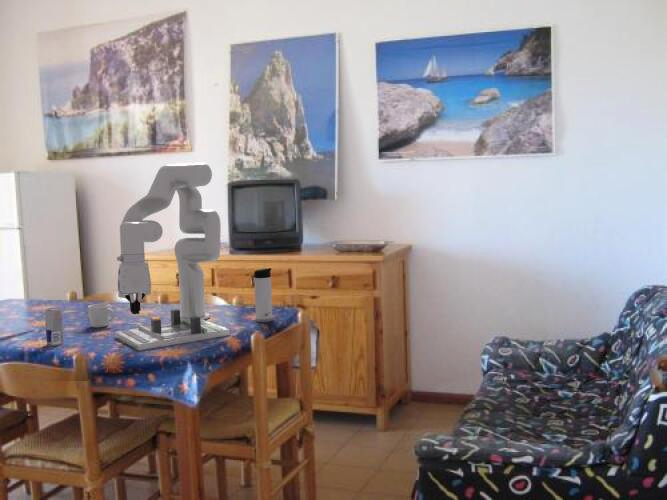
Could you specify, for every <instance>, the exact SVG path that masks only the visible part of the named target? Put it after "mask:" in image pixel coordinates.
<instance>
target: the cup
mask: <svg viewBox="0 0 667 500" xmlns="http://www.w3.org/2000/svg"><path fill="white" fill-rule="evenodd" d="M87 312H88V313H87V314H88V318H89V323H90V327H92V328H104V327H108V325H110V322H113V321H114V320H115V318H116V313H115V312H116V311H115V310H114V309H113V308H111V305H110V304H109V303H96V304H89V305H88V306H87ZM110 313H111V314H110ZM110 315H111V317H110Z"/></svg>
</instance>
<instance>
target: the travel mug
mask: <svg viewBox="0 0 667 500" xmlns="http://www.w3.org/2000/svg"><path fill="white" fill-rule="evenodd" d="M271 271H272V267H269V268H262V269H256V270H254V272H253V276H254V277H253V279H254V280H253V281H254V303H255V304H254V305H255V321H256V323H269V322H272V321H273V300H272V299H273V298H272V297H273V296H272V277H271V276H272V275H271Z"/></svg>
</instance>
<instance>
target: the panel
mask: <svg viewBox="0 0 667 500" xmlns="http://www.w3.org/2000/svg"><path fill="white" fill-rule="evenodd" d="M180 315H181V309H178V308H174V309H170V323H165V324H161V333H157V332H154V331H152V330H151V325H150V326H144V325H138V327H137V328H132V329H124V330H119V331H118V330H117V331H114V332H115V333H114V334H115V339H117V340H119V341H121V342H123V343H124V344H126V345H128V346H130V347H132V348H134V349H135V350H136V351H144V350H151V349H155V348H156V349H157V348H163V347H168V346H173V345H180V344H185V343H191V342H196V341H197V340H198V341H203V340H209V339H215V338H221V337H226V336H230V329H229V328H227V327H224V326H222V325H219V324H215V323H213V322H211V321H209V320H208V321H207V320H206V319H204V320H203V319H200V317H197V316H196V317H190V321H185V320H183V319H180Z"/></svg>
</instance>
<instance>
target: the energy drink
mask: <svg viewBox="0 0 667 500" xmlns="http://www.w3.org/2000/svg"><path fill="white" fill-rule="evenodd" d="M44 321H45V323H44V325H45V337H46V345H47V346H48V347H57V346H62V345H63V344H65V339H64V338H65V337H64V325H63V311H62V308H61V307H51V308H46V309H44Z"/></svg>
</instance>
